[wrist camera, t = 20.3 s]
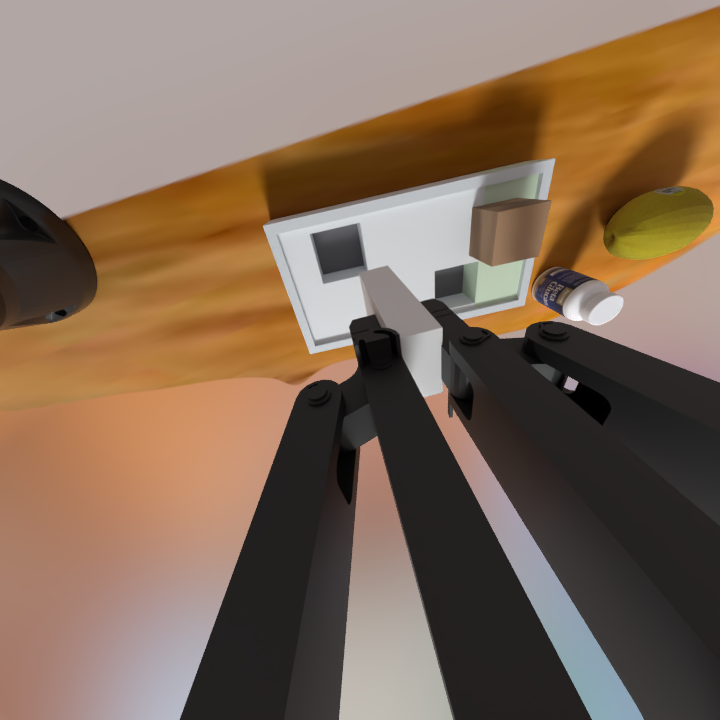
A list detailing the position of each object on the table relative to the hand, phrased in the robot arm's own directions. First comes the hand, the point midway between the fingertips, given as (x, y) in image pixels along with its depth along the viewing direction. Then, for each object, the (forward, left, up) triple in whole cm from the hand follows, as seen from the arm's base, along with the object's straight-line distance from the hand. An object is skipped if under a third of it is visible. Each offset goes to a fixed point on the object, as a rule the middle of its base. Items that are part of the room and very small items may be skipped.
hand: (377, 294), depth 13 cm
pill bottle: (+31, +2, -22) cm, 38 cm away
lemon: (+35, +12, -22) cm, 43 cm away
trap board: (+8, -1, -22) cm, 23 cm away
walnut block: (+16, +5, -18) cm, 24 cm away
